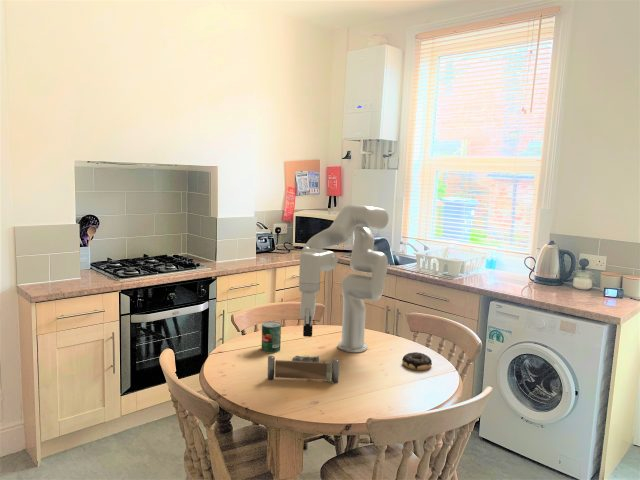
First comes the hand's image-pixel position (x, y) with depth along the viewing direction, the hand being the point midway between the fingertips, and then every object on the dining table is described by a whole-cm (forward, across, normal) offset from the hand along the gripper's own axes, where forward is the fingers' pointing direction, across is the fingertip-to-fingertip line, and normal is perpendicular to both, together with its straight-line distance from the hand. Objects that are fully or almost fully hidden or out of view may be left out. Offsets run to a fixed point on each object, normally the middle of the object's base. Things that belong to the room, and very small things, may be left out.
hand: (307, 335), depth 186 cm
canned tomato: (+15, -24, -16) cm, 33 cm away
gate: (+15, +5, -1) cm, 15 cm away
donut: (+15, -15, +43) cm, 48 cm away
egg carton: (+15, -7, -1) cm, 17 cm away
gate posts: (+15, +5, -1) cm, 16 cm away
